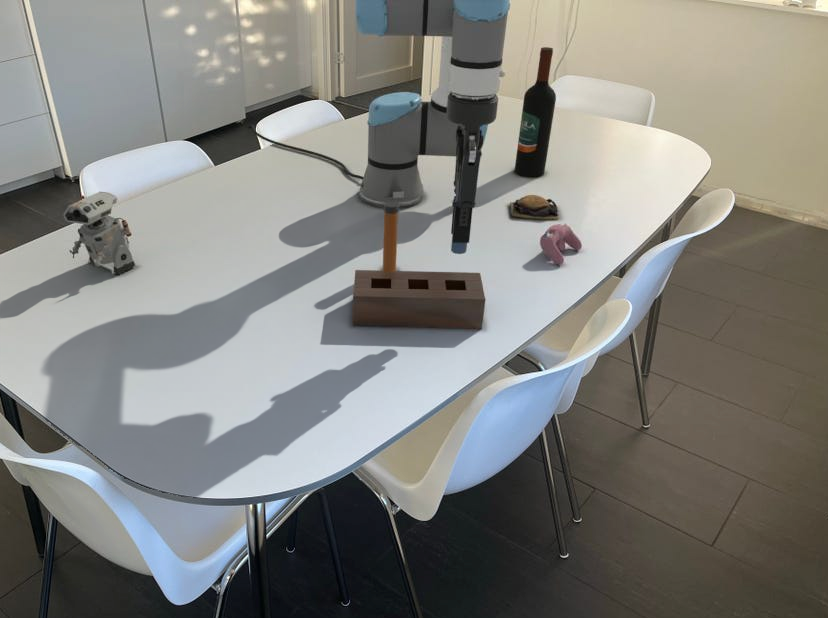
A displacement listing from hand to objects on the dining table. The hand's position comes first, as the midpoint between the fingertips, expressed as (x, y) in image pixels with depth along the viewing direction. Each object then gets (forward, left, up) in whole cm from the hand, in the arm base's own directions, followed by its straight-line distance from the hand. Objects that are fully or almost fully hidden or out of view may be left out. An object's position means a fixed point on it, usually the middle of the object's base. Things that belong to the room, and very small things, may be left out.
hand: (460, 237), depth 122 cm
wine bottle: (-27, +70, -15) cm, 77 cm away
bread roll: (-13, +49, -15) cm, 53 cm away
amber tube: (-19, +5, -15) cm, 25 cm away
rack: (-5, -4, -15) cm, 17 cm away
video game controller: (+2, +34, -15) cm, 37 cm away
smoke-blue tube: (0, 0, -3) cm, 3 cm away
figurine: (-61, -33, -15) cm, 71 cm away
